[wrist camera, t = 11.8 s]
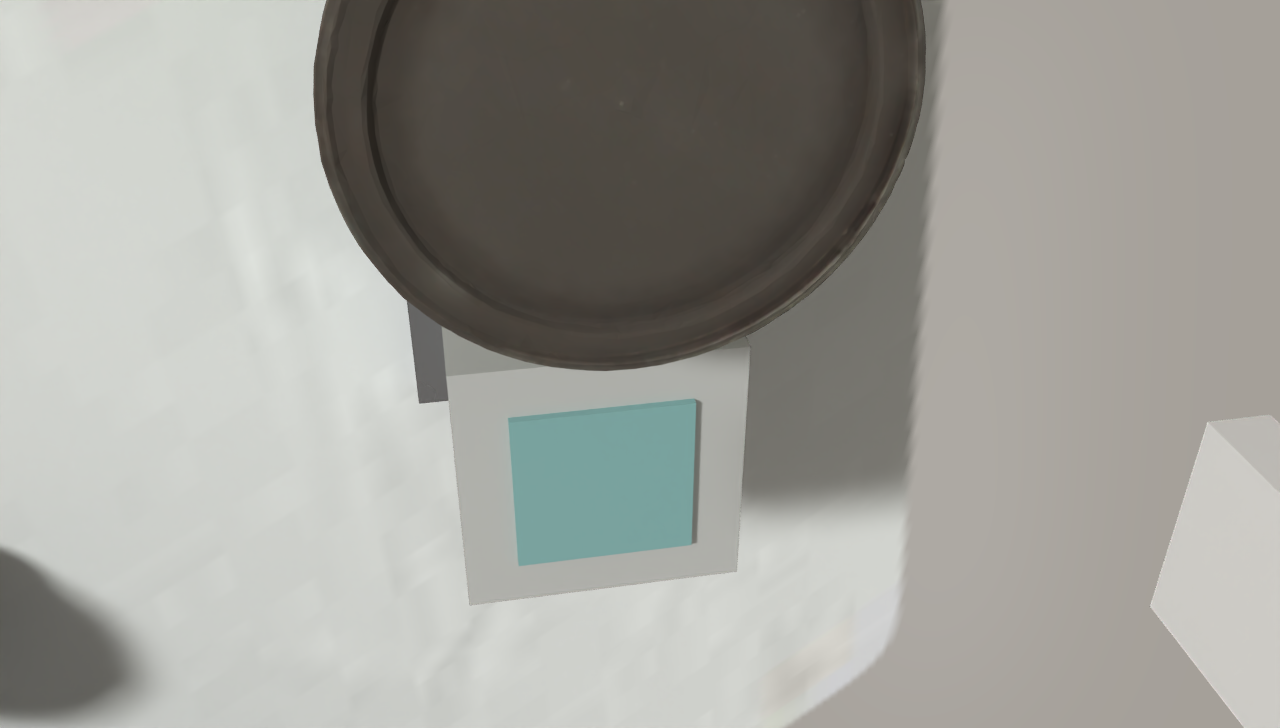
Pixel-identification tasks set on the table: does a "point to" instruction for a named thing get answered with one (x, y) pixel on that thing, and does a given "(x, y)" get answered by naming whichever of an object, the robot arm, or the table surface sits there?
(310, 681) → the table surface
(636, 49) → the coffee can
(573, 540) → the mounted module
